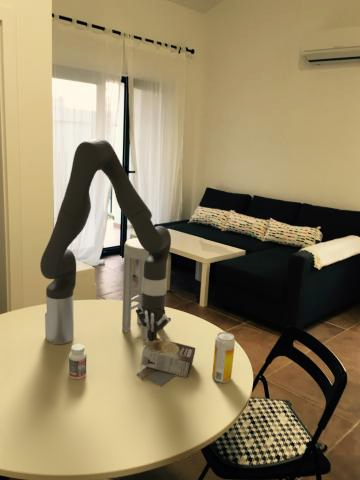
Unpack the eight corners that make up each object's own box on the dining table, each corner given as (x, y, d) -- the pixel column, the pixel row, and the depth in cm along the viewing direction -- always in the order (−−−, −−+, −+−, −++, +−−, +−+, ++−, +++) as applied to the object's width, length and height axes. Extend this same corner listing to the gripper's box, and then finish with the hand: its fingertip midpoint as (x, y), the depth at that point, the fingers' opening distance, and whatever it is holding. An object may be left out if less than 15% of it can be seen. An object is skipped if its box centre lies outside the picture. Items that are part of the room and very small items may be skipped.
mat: (136, 374, 143) (136, 373, 143) (159, 359, 153) (159, 358, 153) (161, 386, 138) (161, 385, 138) (183, 370, 148) (183, 369, 147)
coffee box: (149, 334, 151) (196, 346, 150) (147, 350, 154) (192, 362, 152) (142, 349, 143) (191, 362, 141) (139, 366, 145) (188, 378, 143)
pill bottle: (80, 381, 138) (80, 352, 135) (65, 377, 140) (65, 349, 137) (89, 372, 143) (89, 344, 140) (74, 368, 145) (74, 341, 142)
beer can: (232, 375, 146) (237, 333, 142) (228, 385, 141) (232, 342, 136) (214, 371, 148) (218, 329, 144) (209, 380, 142) (213, 338, 138)
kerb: (140, 378, 141) (140, 375, 141) (167, 360, 152) (167, 357, 152) (143, 380, 141) (143, 376, 140) (169, 361, 152) (169, 358, 151)
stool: (170, 328, 175) (175, 242, 166) (147, 343, 163) (151, 251, 153) (139, 317, 183) (142, 234, 174) (114, 331, 171) (116, 242, 161)
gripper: (130, 288, 141) (128, 337, 145) (163, 299, 134) (161, 351, 138) (145, 281, 147) (143, 329, 151) (178, 292, 140) (175, 342, 144)
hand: (151, 340), depth 145 cm, fingers closed
